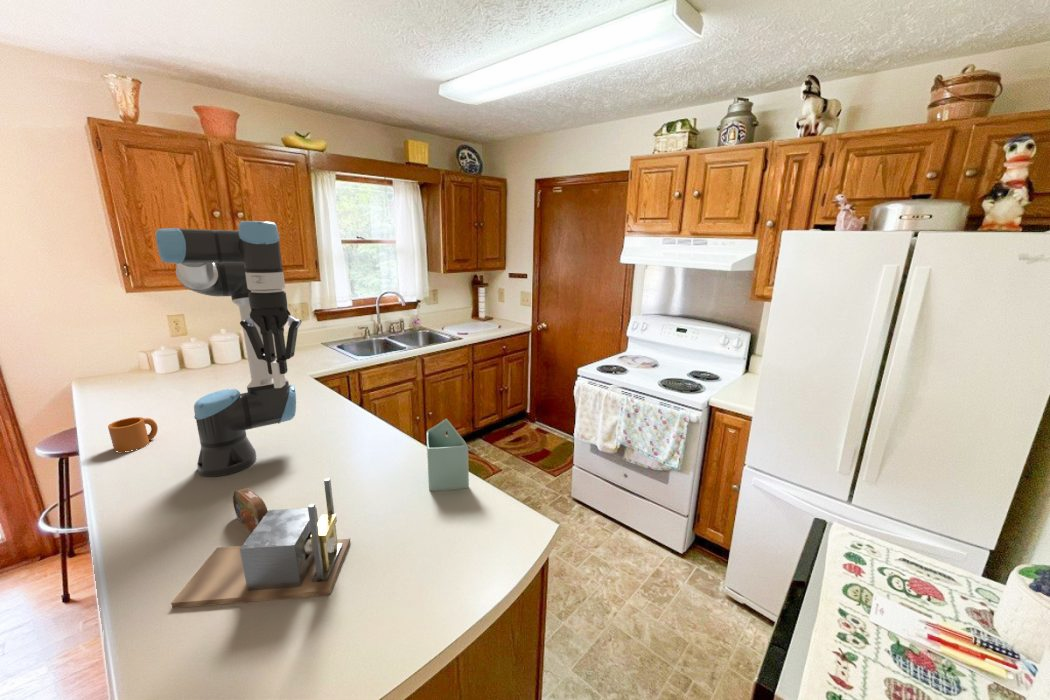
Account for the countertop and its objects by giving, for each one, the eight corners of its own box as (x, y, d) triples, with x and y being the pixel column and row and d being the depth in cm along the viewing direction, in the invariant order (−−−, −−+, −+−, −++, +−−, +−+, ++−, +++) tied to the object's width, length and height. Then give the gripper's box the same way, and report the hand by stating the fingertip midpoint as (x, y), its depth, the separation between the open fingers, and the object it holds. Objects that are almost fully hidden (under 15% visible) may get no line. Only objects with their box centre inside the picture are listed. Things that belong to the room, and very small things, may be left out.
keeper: (314, 572, 86) (310, 536, 84) (325, 548, 93) (321, 515, 91) (329, 570, 87) (325, 535, 84) (339, 547, 93) (336, 514, 91)
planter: (410, 481, 123) (406, 420, 118) (429, 470, 130) (427, 412, 125) (450, 500, 115) (448, 435, 110) (469, 487, 121) (468, 425, 116)
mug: (164, 442, 143) (159, 418, 141) (117, 456, 134) (111, 431, 132) (157, 434, 149) (152, 411, 146) (111, 447, 139) (105, 423, 137)
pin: (246, 573, 85) (242, 548, 83) (261, 552, 91) (257, 528, 89) (329, 567, 87) (326, 543, 85) (338, 546, 93) (335, 524, 91)
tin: (234, 515, 107) (229, 486, 105) (247, 509, 109) (242, 481, 107) (259, 540, 98) (254, 509, 96) (273, 533, 101) (268, 503, 98)
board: (172, 608, 80) (171, 602, 79) (217, 552, 94) (217, 547, 94) (329, 595, 83) (328, 590, 83) (350, 543, 98) (349, 538, 97)
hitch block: (247, 590, 82) (233, 514, 78) (274, 548, 94) (264, 479, 89) (326, 584, 84) (316, 509, 80) (343, 543, 96) (336, 475, 91)
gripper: (227, 292, 91) (243, 392, 97) (289, 292, 93) (302, 390, 99) (245, 288, 98) (259, 381, 104) (303, 288, 100) (313, 380, 106)
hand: (280, 386), depth 102 cm, fingers closed
